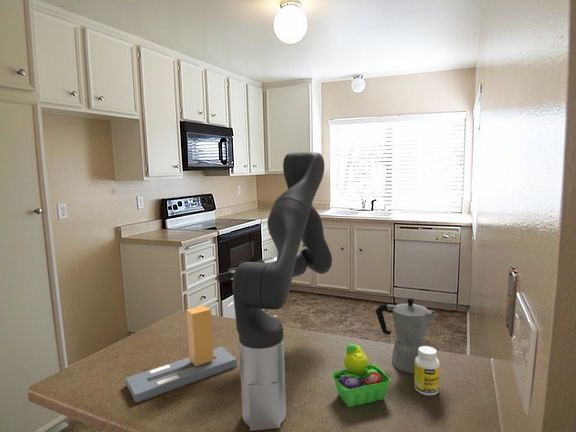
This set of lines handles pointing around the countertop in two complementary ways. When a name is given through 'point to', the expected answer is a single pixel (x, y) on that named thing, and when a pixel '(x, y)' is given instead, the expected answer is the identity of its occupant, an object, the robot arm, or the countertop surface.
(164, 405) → the countertop surface
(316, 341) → the countertop surface
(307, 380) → the countertop surface
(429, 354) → the supplement bottle
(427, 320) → the coffeepot
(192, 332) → the slider tab
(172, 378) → the switch panel
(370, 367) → the fruit basket
